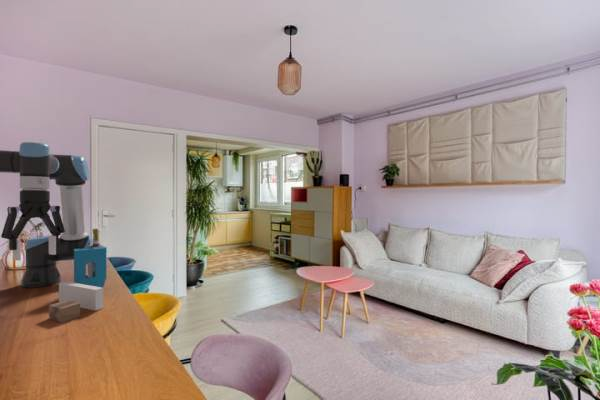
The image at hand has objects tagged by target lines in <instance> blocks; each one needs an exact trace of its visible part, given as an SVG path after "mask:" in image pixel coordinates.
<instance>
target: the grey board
mask: <svg viewBox="0 0 600 400" xmlns="http://www.w3.org/2000/svg"><path fill="white" fill-rule="evenodd" d="M66 300H70V301H73V302H77V303H80V309H86V310H90V311H95V312H96V311H99V310H101V309H104V287H103V288H101V287H96V286H90V285H85V284H79V283H74V281H73V282H72V281H68V280H67V281H62V282H58V302H62V301H66Z"/></svg>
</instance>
